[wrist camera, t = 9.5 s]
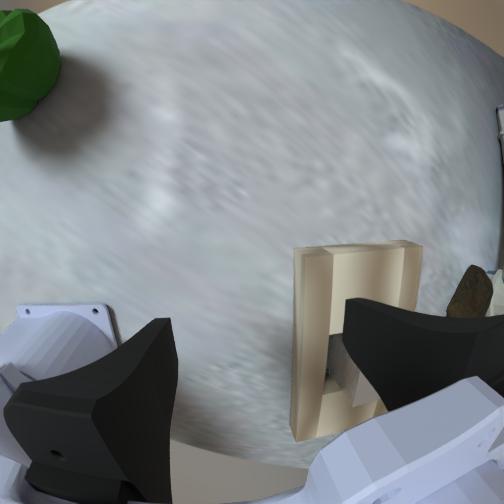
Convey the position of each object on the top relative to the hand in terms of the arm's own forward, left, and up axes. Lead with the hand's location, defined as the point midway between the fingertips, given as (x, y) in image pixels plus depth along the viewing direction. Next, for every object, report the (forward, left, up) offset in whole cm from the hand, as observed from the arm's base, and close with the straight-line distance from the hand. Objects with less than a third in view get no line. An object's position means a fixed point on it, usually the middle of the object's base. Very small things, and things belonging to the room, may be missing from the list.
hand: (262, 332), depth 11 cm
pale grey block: (+9, -8, -10) cm, 15 cm away
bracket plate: (+9, -8, -9) cm, 15 cm away
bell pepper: (-16, +16, -10) cm, 25 cm away
